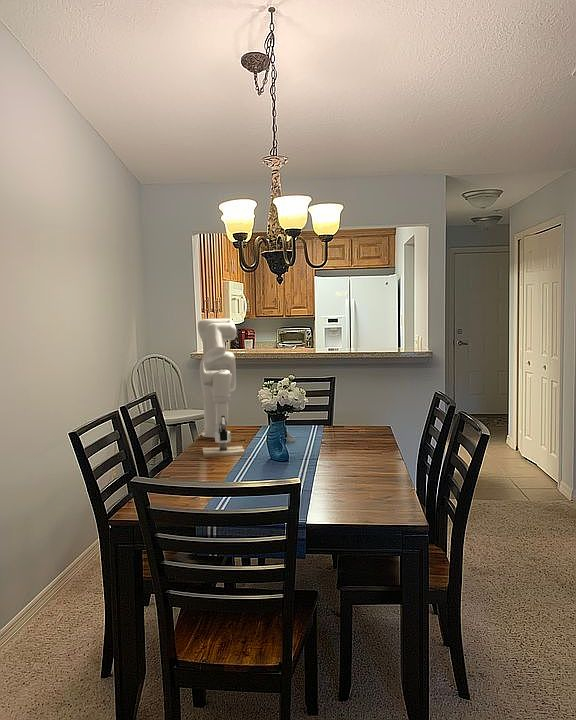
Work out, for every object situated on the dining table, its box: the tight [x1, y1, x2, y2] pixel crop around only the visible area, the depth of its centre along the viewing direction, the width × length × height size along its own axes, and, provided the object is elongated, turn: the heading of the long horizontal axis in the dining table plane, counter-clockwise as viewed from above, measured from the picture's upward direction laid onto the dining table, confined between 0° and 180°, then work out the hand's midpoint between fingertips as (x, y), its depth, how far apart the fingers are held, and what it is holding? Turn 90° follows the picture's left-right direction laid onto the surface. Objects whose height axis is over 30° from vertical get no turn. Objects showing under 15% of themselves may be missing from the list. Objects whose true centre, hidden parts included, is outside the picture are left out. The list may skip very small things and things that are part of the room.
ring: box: [214, 430, 232, 444], centre depth 292 cm, size 7×7×4 cm
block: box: [202, 445, 246, 458], centre depth 293 cm, size 12×18×2 cm, turn 99°
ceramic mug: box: [287, 430, 296, 443], centre depth 314 cm, size 11×8×8 cm
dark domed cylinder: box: [218, 442, 228, 451], centre depth 293 cm, size 3×3×4 cm
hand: (223, 438), depth 292 cm, fingers closed on ring, 7 cm apart
